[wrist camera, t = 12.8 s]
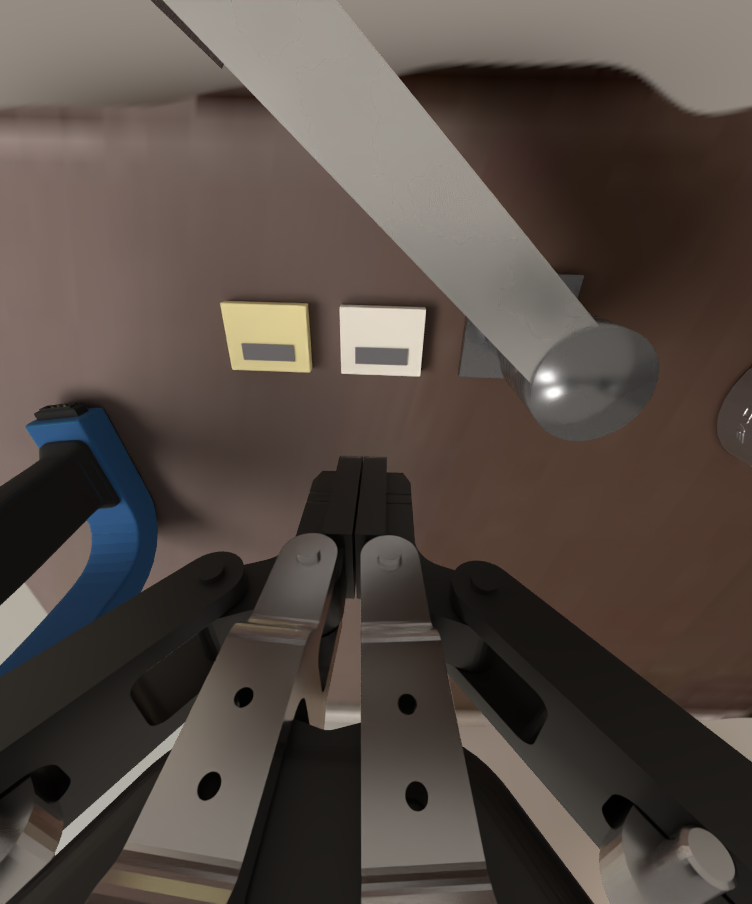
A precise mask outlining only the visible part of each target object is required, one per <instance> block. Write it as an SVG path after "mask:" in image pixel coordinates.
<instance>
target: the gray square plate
mask: <svg viewBox="0 0 752 904" xmlns="http://www.w3.org/2000/svg"><path fill="white" fill-rule="evenodd" d="M558 276H559V277H560V278H561V279H562V281H563V282H564V283H565V284H566V286H567V287H568V288H569V289H570V290H571V292H572V293H573V294H574V295H575V297H576V298H577V299H578V296H579V292H580V289H581V285H582V282H583V278H584V275H580V274H558ZM499 360H500V351H499V350H498V349H497V348H496V347H495V346H494V345H493V344H492V342H491V341H490V340H489V339H488V338H487V337H486V336H485V335H484V334H483V333H482V332H481V331H480V330H479V329H478V328H477V327H476V326H475V325H474V324H473V323H472V322H471V321H470V320H469V319H468V317H467V316H466V320H465V327H464V334H463V341H462V348H461V355H460V362H459V369H458V375H459V377H480V378H504V377H503V374H502V372H501V368H500V361H499Z"/></svg>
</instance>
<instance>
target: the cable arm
mask: <svg viewBox="0 0 752 904" xmlns="http://www.w3.org/2000/svg"><path fill="white" fill-rule="evenodd" d="M151 1H152V2H153V3H154V4H155V5H156V6H157V7H158V8H159V9H160V10H161V11H162V12H164V14H166V15H167V16H168V17H169V18H170V19H171V20H172V21H173V22H174V23H175V24H176V25H177V26H178V27H179V28H180V29H181V30H182V31H183V32H184V33H185V34H186V35H187V36H188V37H189V38H190V39H191V40H193V41H194V42H195V43H196V44H197V45H198V46H199V47H200V48H201V49H202V50H203V51H204V52H205V53H206V54H207V55H208V56H209V57H210V58H211V59H212V60H213V61H214V62H215V63H216V64H217V65H218V66H219V67H221V68H222V67H223V65H225V66H227V68H228V69H229V70H230V71H231V72H232V73H233V74H234V75H235V76H236V77H237V78H238V79H239V80H240V81H241V82H242V83H243V84H244V85H245V86H246V87H247V88H248V90H249V91H250V92H251V93H252V94H253V95H254V96H255V97H256V98H257V99H258V100H259V101H260V102H261V103H262V104H263V105H264V106H265V107H266V108H267V109H268V110H269V111H270V112H271V113H272V114H273V116H274V117H275V118H276V119H277V120H278V121H279V122H280V123H281V124H282V125H283V126H284V127H285V128H286V129H287V130H288V131H289V132H290V133H291V134H292V135H293V136H294V137H295V138H296V139H297V141H298V142H299V143H300V144H301V145H302V146H303V147H304V148H305V149H306V150H307V151H308V152H309V153H310V154H311V155H312V156H313V157H314V158H315V159H316V160H317V161H318V162H319V163H320V164H321V166H322V167H323V168H324V169H325V170H326V171H327V172H328V173H329V174H330V175H331V176H332V177H333V178H334V179H335V180H336V181H337V182H338V183H339V184H340V185H341V186H342V187H343V188H344V189H345V190H346V192H347V193H348V194H349V195H350V196H351V197H352V198H353V199H354V200H355V201H356V202H357V203H358V204H359V205H360V206H361V207H362V208H363V209H364V210H365V211H366V212H367V213H368V214H369V215H370V217H371V218H372V219H373V220H374V221H375V222H376V223H377V224H378V225H379V226H380V227H381V228H382V229H383V230H384V231H385V232H386V233H387V234H388V235H389V236H390V237H391V238H392V239H393V240H394V242H395V243H396V244H397V245H398V246H399V247H400V248H401V249H402V250H403V251H404V252H405V253H406V254H407V255H408V256H409V257H410V258H411V259H412V260H413V261H414V262H415V263H416V264H417V265H418V266H419V268H420V269H421V270H422V271H423V272H424V273H425V274H426V275H427V276H428V277H429V278H430V279H431V280H432V281H433V282H434V283H435V284H436V285H437V286H438V287H439V288H440V289H441V290H442V291H443V293H444V294H445V295H446V296H447V297H448V298H449V299H450V300H451V301H452V302H453V303H454V304H455V305H456V306H457V307H458V308H459V309H460V310H461V311H462V312H463V313H464V314H465V315H466V316H467V317H468V319H469V320H470V321H471V322H472V323H473V324H474V325H475V326H476V327H477V328H478V329H479V330H480V331H481V332H482V333H483V334H484V335H485V336H486V337H487V338H488V339H489V340H490V341H491V342H492V344H493V345H494V346H495V347H496V348H497V349H498V350H499V351H500V360H499V361H500V368H501V372H502V374H503V377H504V378H505V380H506V381H507V383H508V384H509V385H510V387H511V388H512V389H513V390H514V392H515V393H516V394H517V396H518V397H519V398H520V400H521V401H522V402H523V403H524V405H525V406H526V407H527V409H528V410H529V411H530V413H531V414H532V415H533V416H534V418H535V419H536V420H537V422H538V423H539V424H540V425H541V426H542V428H543V429H545V430H546V431H547V432H548V433H550V434H551V435H553V436H555V437H558V438H561V439H564V440H570V441H586V440H592V439H597V438H600V437H603V436H606V435H608V434H611V433H613V432H615V431H617V430H618V429H620V428H622V427H623V426H625V425H626V424H627V423H629V422H630V421H631V420H632V419H634V418H635V417H636V416H637V415H638V414H639V413H640V412H641V410H642V409H643V408H644V407H645V405H646V404H647V403H648V401H649V400H650V398H651V396H652V394H653V392H654V390H655V387H656V384H657V380H658V374H659V362H658V357H657V354H656V352H655V350H654V348H653V346H652V345H651V343H650V342H649V341H648V340H647V339H646V338H645V337H643V336H642V335H641V334H639V333H637V332H635V331H633V330H630V329H628V328H625V327H623V326H620V325H618V324H615V323H613V322H610V321H608V320H605V319H603V318H600V317H598V316H596V315H593V314H591V313H588V312H587V310H586V309H585V308H584V307H583V305H582V304H581V303H580V302H579V300H578V299H577V298H576V297H575V295H574V294H573V293H572V292H571V290H570V289H569V288H568V287H567V286H566V284H565V283H564V282H563V281H562V279H561V278H560V277H559V276H558V274H557V273H556V272H555V271H554V269H553V268H552V267H551V266H550V264H549V263H548V262H547V261H546V260H545V258H544V257H543V256H542V255H541V253H540V252H539V251H538V250H537V248H536V247H535V246H534V245H533V243H532V242H531V241H530V240H529V238H528V237H527V236H526V235H525V233H524V232H523V231H522V230H521V229H520V227H519V226H518V225H517V224H516V222H515V221H514V220H513V219H512V217H511V216H510V215H509V214H508V212H507V211H506V210H505V209H504V207H503V206H502V205H501V204H500V203H499V201H498V200H497V199H496V198H495V196H494V195H493V194H492V193H491V191H490V190H489V189H488V188H487V186H486V185H485V184H484V183H483V181H482V180H481V179H480V178H479V177H478V175H477V174H476V173H475V172H474V170H473V169H472V168H471V167H470V165H469V164H468V163H467V162H466V160H465V159H464V158H463V157H462V155H461V154H460V153H459V152H458V150H457V149H456V148H455V147H454V146H453V144H452V143H451V142H450V141H449V139H448V138H447V137H446V136H445V134H444V133H443V132H442V131H441V129H440V128H439V127H438V126H437V124H436V123H435V122H434V121H433V120H432V118H431V117H430V116H429V115H428V113H427V112H426V111H425V110H424V108H423V107H422V106H421V105H420V103H419V102H418V101H417V100H416V98H415V97H414V96H413V95H412V94H411V92H410V91H409V90H408V89H407V87H406V86H405V85H404V84H403V82H402V81H401V80H400V79H399V77H398V76H397V75H396V74H395V72H394V71H393V70H392V69H391V67H389V65H388V64H387V63H386V61H385V60H384V59H383V58H382V56H381V55H380V54H379V53H378V52H377V50H376V49H375V48H374V46H373V45H372V44H371V43H370V41H369V40H368V39H367V38H366V37H365V35H364V34H363V33H362V32H361V30H360V29H359V28H358V27H357V25H356V24H355V23H354V22H353V20H352V19H351V18H350V17H349V16H348V14H347V13H346V12H345V11H344V9H343V8H342V7H341V6H340V4H339V3H338V2H337V1H336V0H151Z"/></svg>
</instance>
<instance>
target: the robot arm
mask: <svg viewBox="0 0 752 904" xmlns="http://www.w3.org/2000/svg"><path fill="white" fill-rule="evenodd" d="M717 434H718V438H719V440H720V442H721V445H722V446H723V447H724V448H725V449H726V450H727V451H728V452H729V453H730V454H731V455H733V456H734V457H736V458H737V459H739V460H741V461H742V462H744V463H745V464H747V465H748V466H750V467H751V468H752V367H751V368H750V369H749V370H748V371H746V373H745V374H744V375H743V376H742V377H741V378H740V379H739V380H738V381H737V382H736V384H735V385H734V386H733V387H732V389H731V390H730V392H729V393H728V395H727V396H726V398H725V400H724V402H723V404H722V407H721V409H720V411H719V415H718V420H717ZM386 469H387V457H364V463H363V457H361V456H340V457H339V461H338V466H337V470H336V471H322V472H321V473H320V474H319V475H318V476H317V477H316V478H315V479H314V480H313V483H312V486H311V489H310V494H309V496H308V499H307V503H306V505H305V509H304V512H303V515H302V518H301V521H300V525H299V528H298V531H297V534H296V537H294V538H292V539H291V540H289V541H288V542H287V543H286V544H285V545H284V546H283V547H282V549H281V551H280V553H279V555H278V556H276V557H273V558H271V559H268V560H264V561H260V562H255V563H251V564H246V565H244V564H243V562H242V560H241V558H240V557H239V556H237V555H236V554H233V553H230V552H214V553H210V554H206V555H204V556H201V557H200V558H198V559H196V560H194V561H192V562H191V563H189V564H187V565H186V566H184V567H183V568H181V569H179V570H178V571H176V572H174V573H173V574H171V575H169V576H168V577H166V578H164V579H163V580H161V581H159V582H158V583H156V584H154V585H153V586H151V587H149V588H148V589H146V590H144V591H143V592H141V593H139V594H138V595H136V596H134V597H133V598H131V599H129V600H128V601H126V602H124V603H123V604H121V605H119V606H118V607H116V608H114V609H113V610H111V611H109V612H108V613H106V614H104V615H103V616H101V617H99V618H98V619H96V620H94V621H93V622H91V623H89V624H88V625H86V626H84V627H83V628H81V629H79V630H78V631H76V632H74V633H73V634H71V635H69V636H68V637H66V638H64V639H63V640H61V641H59V642H58V643H56V644H55V645H53V646H51V647H50V648H48V649H46V650H45V651H43V652H41V653H40V654H38V655H36V656H35V657H33V658H31V659H30V660H28V661H26V662H25V663H23V664H21V665H20V666H18V667H16V668H15V669H13V670H11V671H10V672H8V673H6V674H5V675H3V676H1V677H0V904H594V903H593V902H592V900H591V899H590V898H589V896H588V895H587V894H586V892H585V891H584V890H583V889H582V887H581V886H580V885H579V883H578V882H577V880H576V879H575V878H574V876H573V875H572V874H571V872H570V871H569V870H568V868H567V867H566V866H565V864H564V863H563V862H562V860H561V859H560V858H559V856H558V855H557V854H556V853H555V851H554V850H553V848H552V847H551V846H550V844H549V843H548V842H547V840H546V839H545V838H544V836H543V835H542V834H541V832H540V831H539V830H538V828H537V827H536V826H535V824H534V823H533V822H532V820H531V819H530V818H529V816H528V815H527V814H526V812H525V811H524V810H523V808H522V807H521V806H520V804H519V803H518V802H517V800H516V799H515V798H514V796H513V795H512V794H511V792H510V791H509V790H508V788H507V787H506V786H505V785H504V783H503V782H502V781H501V780H500V779H499V778H498V777H497V775H496V774H495V773H494V772H493V771H492V770H491V769H490V768H489V767H488V766H487V765H486V764H485V763H484V762H482V761H481V760H480V759H479V758H478V757H477V756H475V755H474V754H472V753H471V752H470V751H468V750H467V749H465V748H464V747H462V743H461V738H460V733H459V728H458V723H457V718H456V713H455V708H454V703H453V698H452V693H451V688H450V683H449V678H448V674H449V675H450V676H451V678H452V679H453V680H454V681H455V682H456V683H457V685H458V686H459V687H460V688H461V689H462V690H463V691H464V693H465V694H466V695H467V696H468V697H469V698H470V700H471V701H472V702H473V703H474V704H475V705H476V706H477V708H478V709H479V710H480V711H481V712H482V713H483V715H484V716H485V717H486V718H487V719H488V720H489V722H490V723H491V724H492V725H493V726H494V727H495V728H496V730H497V731H498V732H499V733H500V734H501V735H502V736H503V738H504V739H505V740H506V741H507V742H508V743H509V745H510V746H511V747H512V748H513V749H514V750H515V752H516V753H517V754H518V755H519V756H520V757H521V758H522V760H523V761H524V762H525V763H526V764H527V765H528V767H529V768H530V769H531V770H532V771H533V772H534V774H535V775H536V776H537V777H538V778H539V779H540V780H541V782H542V783H543V784H544V785H545V786H546V787H547V789H548V790H549V791H550V792H551V793H552V794H553V795H554V797H555V798H556V799H557V800H558V801H559V802H560V804H561V805H562V806H563V807H564V808H565V809H566V810H567V812H568V813H569V814H570V815H571V816H572V817H573V818H574V820H575V821H576V822H577V823H578V824H579V826H581V828H582V829H583V830H584V831H585V832H586V833H587V835H588V836H589V837H590V838H591V839H592V841H593V842H594V843H595V844H596V845H597V846H598V847H599V849H600V853H599V865H600V874H601V878H602V883H603V886H604V889H605V892H606V895H607V897H608V900H609V902H610V904H752V762H751V761H750V760H748V759H747V758H746V757H744V756H743V755H742V754H741V753H739V752H738V751H737V750H735V749H734V748H733V747H732V746H730V745H729V744H728V743H726V742H725V741H724V740H722V739H721V738H720V737H719V736H717V735H716V734H714V733H713V732H712V731H711V730H710V729H708V728H707V727H706V726H704V725H703V724H702V723H701V722H699V721H698V720H697V719H695V718H694V717H693V716H692V715H690V714H689V713H688V712H686V711H685V710H684V709H682V708H681V707H680V706H679V705H677V704H676V703H675V702H673V701H672V700H671V699H670V698H668V697H667V696H666V695H664V694H663V693H662V692H661V691H659V690H658V689H657V688H655V687H654V686H653V685H651V684H650V683H649V682H648V681H646V680H645V679H644V678H642V677H641V676H640V675H639V674H637V673H636V672H635V671H633V670H632V669H631V668H630V667H628V666H627V665H626V664H624V663H623V662H622V661H620V660H619V659H618V658H617V657H615V656H614V655H613V654H611V653H610V652H609V651H608V650H606V649H605V648H604V647H602V646H601V645H600V644H599V643H597V642H596V641H595V640H593V639H592V638H591V637H589V636H588V635H587V634H586V633H584V632H583V631H582V630H580V629H579V628H578V627H577V626H575V625H574V624H573V623H571V622H570V621H569V620H568V619H566V618H565V617H564V616H562V615H561V614H560V613H558V612H557V611H556V610H555V609H553V608H552V607H551V606H549V605H548V604H547V603H546V602H544V601H543V600H542V599H540V598H539V597H538V596H537V595H535V594H534V593H533V592H531V591H530V590H529V589H527V588H526V587H525V586H524V585H522V584H521V583H520V582H518V581H517V580H516V579H515V578H513V577H512V576H511V575H509V574H508V573H507V572H506V571H504V570H503V569H501V568H500V567H498V566H496V565H494V564H491V563H489V562H485V561H469V562H465V563H463V564H461V565H460V566H458V567H457V568H456V570H452V569H449V568H446V567H442V566H439V565H437V564H434V563H432V562H430V561H429V560H427V559H426V558H425V557H424V556H423V555H422V554H421V553H420V552H419V551H418V549H417V547H416V544H415V537H414V524H413V511H412V498H411V485H410V482H409V480H408V479H407V478H406V476H405V475H404V474H403V473H386ZM355 587H356V588H357V598H358V599H361V723H358V724H354V725H350V726H346V727H342V728H338V729H334V730H324V725H325V711H326V702H327V696H328V691H329V686H330V681H331V677H332V672H333V667H334V662H335V657H336V652H337V648H338V643H339V638H340V633H341V628H342V617H343V613H344V606H345V598H353V599H354V597H355ZM193 636H194V637H193ZM189 639H190V640H189ZM182 644H183V645H182ZM178 647H179V648H178ZM174 650H175V651H174ZM170 653H171V654H170ZM166 656H167V657H166ZM162 659H163V660H162ZM158 662H159V663H158ZM155 664H156V665H155ZM151 667H152V668H151ZM147 670H148V671H147ZM184 722H185V723H184ZM183 723H184V725H183V728H182V730H181V732H180V734H179V736H178V738H177V740H176V742H175V744H174V746H173V748H172V749H171V750H170V751H168V752H167V753H166V754H164V755H163V756H162V757H161V758H159V759H158V760H157V761H156V762H154V763H153V764H152V765H151V766H150V767H149V768H148V769H146V771H144V772H143V773H142V774H141V775H140V776H139V777H138V778H137V779H136V780H135V781H134V782H133V783H132V784H131V785H129V786H128V788H126V790H124V791H123V792H122V793H121V794H120V795H119V796H118V797H117V798H116V799H115V800H114V801H113V802H112V803H111V804H109V805H108V806H107V807H106V808H105V809H104V810H103V811H102V812H101V813H100V814H99V815H98V816H97V817H96V818H95V819H94V820H93V821H92V822H91V823H89V824H88V826H87V827H85V828H84V829H83V830H82V831H81V832H80V833H79V834H78V835H77V836H76V837H75V838H74V839H73V840H72V841H71V842H69V843H68V844H67V845H66V846H65V847H64V848H63V849H62V850H61V851H60V852H59V853H58V854H57V855H56V856H55V851H56V849H57V846H58V844H59V841H60V838H61V835H62V830H64V829H65V828H66V827H67V826H68V825H69V824H70V823H71V822H73V821H74V820H75V819H76V818H77V817H78V816H79V815H80V814H82V813H83V812H84V811H85V810H86V809H87V808H88V807H90V806H91V805H92V804H93V803H94V802H95V801H96V800H97V799H99V798H100V797H101V796H102V795H103V794H104V793H105V792H106V791H107V790H109V789H110V788H111V787H112V786H113V785H114V784H115V783H117V782H118V781H119V780H120V779H121V778H122V777H123V776H125V775H126V774H127V773H128V772H129V771H130V770H131V769H132V768H134V767H135V766H136V765H137V764H138V763H139V762H140V761H142V760H143V759H144V758H145V757H146V756H147V755H148V754H149V753H150V752H152V751H153V750H154V749H155V748H156V747H157V746H158V745H159V744H161V743H162V742H163V741H164V740H165V739H166V738H167V737H169V736H170V735H171V734H172V733H173V732H174V731H175V730H176V729H177V728H179V727H180V726H181V725H182V724H183Z"/></svg>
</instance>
